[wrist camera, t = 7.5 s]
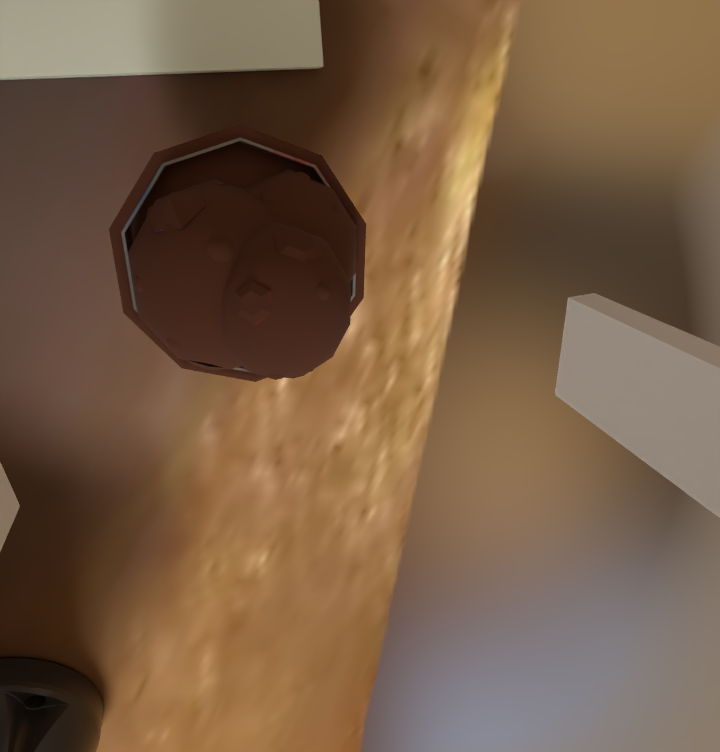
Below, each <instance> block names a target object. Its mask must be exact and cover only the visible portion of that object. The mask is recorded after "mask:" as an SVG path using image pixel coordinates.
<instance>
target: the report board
mask: <svg viewBox="0 0 720 752" xmlns="http://www.w3.org/2000/svg"><path fill="white" fill-rule="evenodd" d="M321 67H324V66H323V52H322V38H321V24H320V10H319V0H0V80H16V79H44V78H72V77H100V76H127V75H155V74H183V73H211V72H238V71H266V70H294V69H319V68H321Z"/></svg>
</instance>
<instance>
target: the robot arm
mask: <svg viewBox="0 0 720 752" xmlns="http://www.w3.org/2000/svg"><path fill="white" fill-rule="evenodd" d="M555 395H556V396H557V397H559V398H560V399H561V400H563V401H564V402H566V403H567V404H568V405H570V406H571V407H572V408H573V409H575V410H576V411H578V412H579V413H580V414H581V415H583V416H584V417H586V418H587V419H588V420H590V421H591V422H592V423H594V424H595V425H596V426H598V427H599V428H600V429H602V430H603V431H604V432H606V433H607V434H608V435H610V436H611V437H612V438H614V439H615V440H616V441H618V442H619V443H621V444H622V445H623V446H624V447H626V448H627V449H628V450H630V451H631V452H632V453H634V454H635V455H636V456H638V457H639V458H640V459H642V460H643V461H644V462H646V463H647V464H648V465H650V466H651V467H652V468H654V469H655V470H656V471H658V472H659V473H660V474H662V475H663V476H664V477H666V478H667V479H668V480H670V481H671V482H672V483H674V484H675V485H676V486H678V487H679V488H680V489H682V490H683V491H685V492H686V493H687V494H688V495H690V496H691V497H693V498H694V499H695V500H696V501H698V502H699V503H700V504H702V505H703V506H704V507H706V508H707V509H708V510H710V511H711V512H713V513H714V514H715V515H717V516H718V517H719V518H720V347H719V346H716V345H714V344H712V343H709V342H707V341H705V340H702V339H700V338H698V337H695V336H693V335H691V334H688V333H686V332H684V331H681V330H679V329H676V328H674V327H672V326H670V325H667V324H665V323H662V322H660V321H658V320H656V319H653V318H651V317H649V316H646V315H644V314H642V313H639V312H637V311H635V310H632V309H630V308H627V307H625V306H623V305H621V304H618V303H616V302H614V301H611V300H609V299H607V298H604V297H602V296H600V295H597V294H595V293H594V294H587V295H582V296H575V297H569V298H568V303H567V310H566V318H565V325H564V332H563V339H562V347H561V354H560V361H559V369H558V376H557V383H556V390H555ZM19 507H20V505H19V503H18V500H17V498H16V496H15V494H14V491H13V489H12V487H11V485H10V482H9V480H8V478H7V476H6V474H5V471H4V469H3V467H2V465H1V462H0V551H1V549H2V547H3V544H4V542H5V540H6V537H7V535H8V533H9V530H10V528H11V526H12V523H13V521H14V519H15V516H16V514H17V512H18V509H19ZM102 718H103V703H102V699H101V696H100V694H99V692H98V691H97V689H96V688H95V687H94V685H93V684H92V683H91V682H90V681H89V680H87V679H86V678H85V677H84V676H82V675H80V674H79V673H77V672H75V671H73V670H71V669H69V668H67V667H64V666H61V665H58V664H55V663H51V662H47V661H41V660H35V659H25V658H0V752H96V750H97V747H98V743H99V740H100V733H101V726H102Z"/></svg>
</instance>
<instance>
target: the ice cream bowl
mask: <svg viewBox="0 0 720 752" xmlns="http://www.w3.org/2000/svg"><path fill="white" fill-rule="evenodd" d="M109 231H110V237H111V243H112V249H113V255H114V260H115V266H116V272H117V278H118V283H119V289H120V295H121V301H122V306H123V312H124V314H125V315H126V316H128V317H129V318H130V319H131V320H132V321H133V322H134V323H135V324H136V325H137V326H138V327H139V328H140V329H141V330H142V331H143V332H144V333H145V334H146V335H147V336H148V337H150V338H151V339H152V340H153V341H154V342H155V343H156V344H157V345H158V346H159V347H160V348H161V349H162V350H163V351H164V352H165V353H166V354H167V355H168V356H169V357H171V358H172V359H173V360H174V361H175V362H176V363H177V364H178V365H179V366H180V367H181V368H183V369H189V370H194V371H200V372H205V373H211V374H216V375H222V376H227V377H232V378H238V379H243V380H249V381H254V382H257V381H259V380H262V379H264V378H267V377H268V378H272V379H275V380H277V379H281V378H284V377H286V378H296V377H300V376H304V375H305V374H307V373H308V372H310V371H312V370H313V369H315V368H316V367H318V366H319V365H321V364H322V363H324V362H325V361H327V360H329V359H330V358H332V357H333V355H334V353H335V351H336V349H337V348H338V346H339V344H340V342H341V340H342V338H343V336H344V334H345V333H346V331H347V329H348V327H349V325H350V316H351V315H352V313H353V312H354V310H355V309H356V308H357V306H358V305H359V304H360V302H361V301H362V299H363V297H364V268H365V238H366V223H365V222H364V220H363V219H362V217H361V215H360V214H359V212H358V211H357V209H356V208H355V206H354V205H353V203H352V202H351V200H350V199H349V197H348V195H347V194H346V192H345V191H344V189H343V188H342V186H341V185H340V183H339V182H338V180H337V178H336V177H335V175H334V174H333V172H332V171H331V169H330V168H329V166H328V165H327V163H326V162H325V160H324V158H323V157H322V156H321V155H318V154H315V153H313V152H310V151H307V150H305V149H302V148H299V147H297V146H294V145H292V144H289V143H286V142H284V141H281V140H278V139H276V138H273V137H270V136H268V135H265V134H262V133H260V132H257V131H254V130H252V129H249V128H246V127H244V126H241V125H238V126H235V127H232V128H229V129H226V130H223V131H220V132H217V133H214V134H211V135H208V136H205V137H202V138H199V139H195V140H192V141H189V142H186V143H183V144H180V145H177V146H174V147H171V148H168V149H165V150H162V151H159V152H156V153H154V154H153V156H152V157H151V159H150V161H149V162H148V164H147V166H146V168H145V169H144V171H143V173H142V174H141V176H140V178H139V179H138V181H137V183H136V184H135V186H134V188H133V190H132V191H131V193H130V195H129V196H128V198H127V200H126V201H125V203H124V205H123V206H122V208H121V210H120V212H119V213H118V215H117V217H116V218H115V220H114V222H113V223H112V225H111V227H110V229H109Z"/></svg>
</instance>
